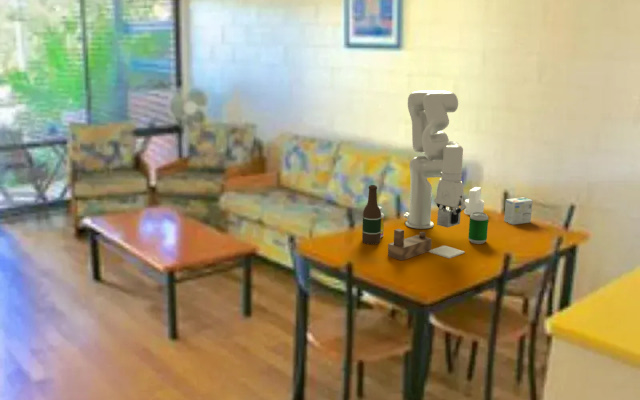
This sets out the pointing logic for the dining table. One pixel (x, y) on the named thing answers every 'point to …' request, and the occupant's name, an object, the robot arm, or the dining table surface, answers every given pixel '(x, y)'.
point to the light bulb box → (518, 210)
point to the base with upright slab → (474, 202)
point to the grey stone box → (446, 217)
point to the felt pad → (446, 251)
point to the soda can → (478, 228)
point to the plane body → (408, 245)
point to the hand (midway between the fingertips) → (448, 221)
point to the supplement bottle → (381, 222)
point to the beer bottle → (371, 218)
